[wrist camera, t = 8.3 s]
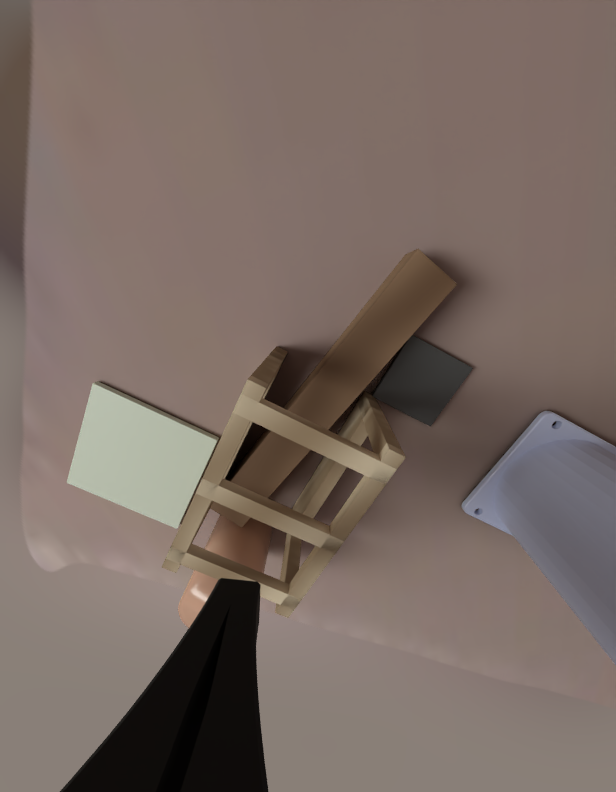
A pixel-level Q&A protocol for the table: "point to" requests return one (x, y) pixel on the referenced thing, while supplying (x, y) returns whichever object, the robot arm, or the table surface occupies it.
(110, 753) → the robot arm
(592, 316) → the table surface
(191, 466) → the pad
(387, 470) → the wooden ladder stand
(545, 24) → the table surface
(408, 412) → the mat
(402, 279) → the rod
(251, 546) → the cylinder
